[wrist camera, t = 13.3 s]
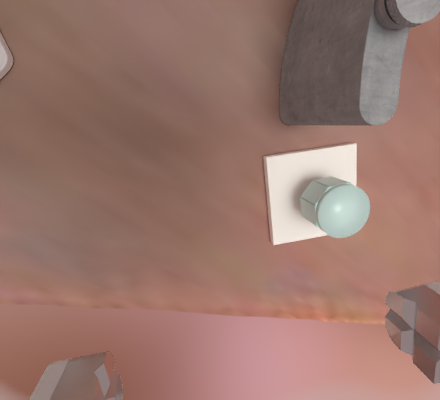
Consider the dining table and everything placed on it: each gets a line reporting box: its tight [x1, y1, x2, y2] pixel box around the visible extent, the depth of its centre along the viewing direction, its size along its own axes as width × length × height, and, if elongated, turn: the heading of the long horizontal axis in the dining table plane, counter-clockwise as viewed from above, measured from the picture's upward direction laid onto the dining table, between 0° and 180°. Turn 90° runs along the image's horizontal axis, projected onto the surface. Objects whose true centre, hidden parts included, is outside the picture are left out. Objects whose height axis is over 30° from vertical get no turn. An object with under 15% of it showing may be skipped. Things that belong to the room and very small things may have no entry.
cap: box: [300, 176, 370, 238], centre depth 34 cm, size 6×6×5 cm
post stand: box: [263, 143, 356, 245], centre depth 37 cm, size 13×13×8 cm
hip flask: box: [279, 0, 440, 125], centre depth 26 cm, size 16×4×20 cm, turn 173°
